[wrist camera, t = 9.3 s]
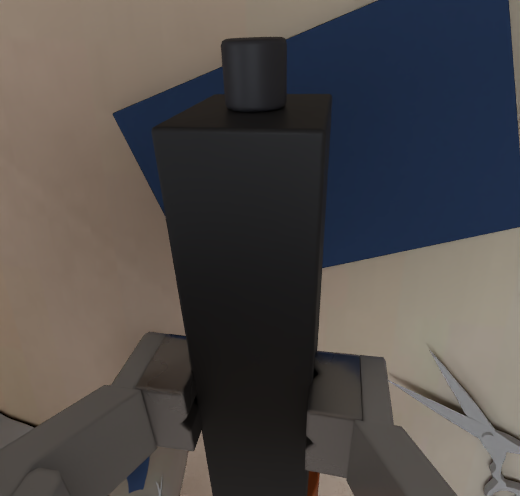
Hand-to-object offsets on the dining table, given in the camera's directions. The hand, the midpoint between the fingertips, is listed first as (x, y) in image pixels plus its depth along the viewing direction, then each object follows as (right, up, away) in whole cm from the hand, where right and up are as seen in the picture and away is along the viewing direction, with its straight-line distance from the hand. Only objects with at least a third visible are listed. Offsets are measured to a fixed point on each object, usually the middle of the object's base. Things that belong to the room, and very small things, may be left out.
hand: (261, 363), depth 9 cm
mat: (+3, +7, +13) cm, 15 cm away
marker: (0, +1, +1) cm, 2 cm away
